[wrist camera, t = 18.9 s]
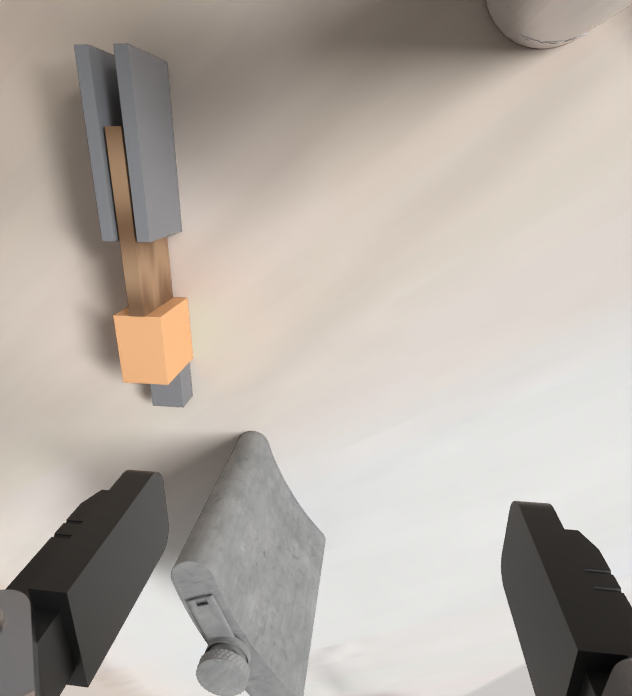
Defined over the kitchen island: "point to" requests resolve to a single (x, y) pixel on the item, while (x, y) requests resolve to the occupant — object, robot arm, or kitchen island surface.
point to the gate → (138, 257)
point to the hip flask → (252, 578)
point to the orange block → (154, 343)
